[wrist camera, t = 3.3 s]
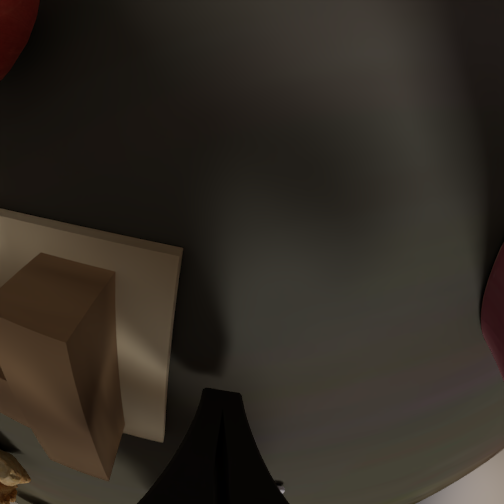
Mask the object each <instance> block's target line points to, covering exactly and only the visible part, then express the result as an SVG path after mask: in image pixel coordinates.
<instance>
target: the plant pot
mask: <svg viewBox="0 0 504 504" xmlns="http://www.w3.org/2000/svg"><path fill="white" fill-rule="evenodd" d="M481 329H482V333H483V336H484V339H485V341H486V343H487V344H488V346H489V348H490V350H491V352H492V354H493V357H494V359H495V361H496V363H497V365H498V368H499V370H500V373H501V375H502V378H503V380H504V242H503V244H502V246H501V248H500V250H499V253H498V255H497V257H496V259H495V262H494V265H493V268H492V270H491V273H490V276H489V278H488V282H487V285H486V288H485V292H484V296H483V302H482V309H481Z"/></svg>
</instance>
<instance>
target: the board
mask: <svg viewBox="0 0 504 504" xmlns="http://www.w3.org/2000/svg"><path fill="white" fill-rule="evenodd" d="M41 252H42V253H45V254H49V255H53V256H56V257H60V258H64V259H68V260H72V261H75V262H79V263H83V264H87V265H91V266H95V267H99V268H103V269H107V270H111V271H115V309H116V338H117V355H118V368H119V379H120V389H121V398H122V406H123V414H124V421H125V426H124V430H123V433H126V434H129V435H133V436H137V437H141V438H145V439H149V440H153V441H157V442H162V443H163V441H164V436H165V420H166V403H167V388H168V375H169V363H170V352H171V342H172V332H173V323H174V314H175V306H176V298H177V290H178V282H179V275H180V268H181V261H182V254H183V248H181V247H176V246H171V245H167V244H162V243H157V242H152V241H148V240H143V239H138V238H134V237H129V236H124V235H119V234H115V233H110V232H105V231H101V230H96V229H92V228H87V227H82V226H78V225H73V224H69V223H64V222H60V221H55V220H50V219H46V218H41V217H37V216H32V215H28V214H23V213H19V212H15V211H10V210H6V209H1V208H0V288H1V287H2V286H3V285H4V284H5V283H6V282H7V281H8V280H9V279H10V278H12V277H13V276H14V275H15V274H16V273H17V272H18V271H19V270H21V269H22V268H23V267H24V266H25V265H26V264H28V263H29V262H30V261H31V260H32V259H33V258H35V257H36V256H37V255H38V254H39V253H41Z"/></svg>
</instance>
